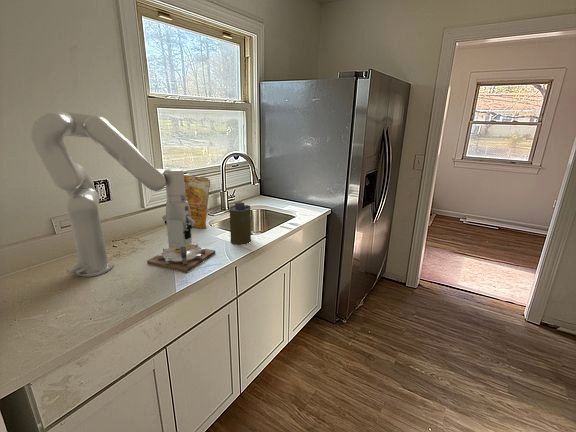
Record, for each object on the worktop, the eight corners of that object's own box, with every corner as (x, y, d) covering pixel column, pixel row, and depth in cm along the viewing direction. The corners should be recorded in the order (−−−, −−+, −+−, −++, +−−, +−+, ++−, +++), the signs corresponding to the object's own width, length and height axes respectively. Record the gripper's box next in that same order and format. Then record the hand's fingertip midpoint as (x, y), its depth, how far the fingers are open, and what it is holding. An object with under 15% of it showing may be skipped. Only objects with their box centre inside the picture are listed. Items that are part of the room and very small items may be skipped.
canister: (239, 246, 146) (238, 206, 140) (226, 241, 153) (224, 202, 147) (256, 240, 154) (255, 202, 148) (243, 235, 161) (242, 198, 155)
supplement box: (183, 249, 131) (181, 221, 127) (168, 247, 132) (165, 220, 129) (192, 243, 138) (190, 216, 134) (177, 241, 139) (175, 215, 136)
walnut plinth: (186, 273, 121) (185, 265, 120) (147, 263, 128) (146, 256, 127) (215, 253, 139) (215, 246, 138) (179, 246, 146) (179, 239, 144)
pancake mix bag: (188, 221, 181) (184, 174, 173) (213, 226, 173) (210, 177, 165) (179, 224, 175) (175, 175, 167) (205, 229, 167) (202, 179, 159)
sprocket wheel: (209, 260, 128) (208, 247, 126) (159, 268, 121) (158, 254, 119) (201, 243, 145) (200, 231, 143) (157, 249, 137) (156, 237, 135)
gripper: (199, 198, 129) (201, 237, 134) (166, 194, 135) (170, 231, 140) (187, 202, 122) (190, 243, 128) (153, 197, 128) (158, 236, 134)
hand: (180, 236), depth 134 cm, fingers closed on supplement box, 8 cm apart
